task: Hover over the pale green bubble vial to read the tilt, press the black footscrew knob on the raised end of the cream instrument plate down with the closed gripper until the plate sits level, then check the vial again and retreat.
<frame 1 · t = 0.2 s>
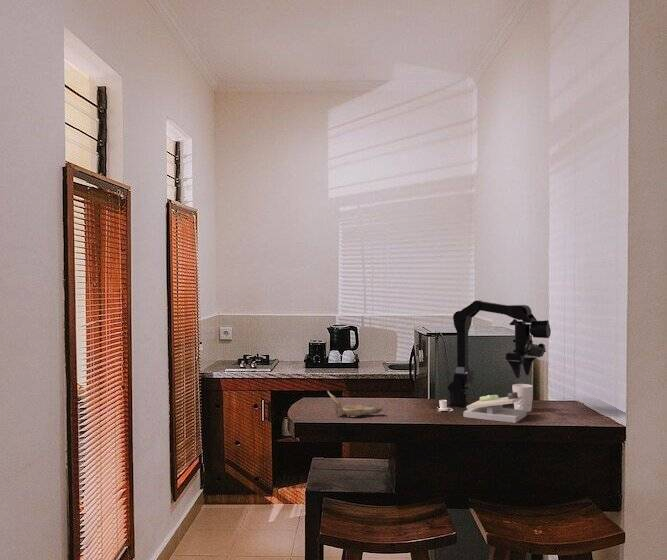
hand: (522, 376, 243), 14 cm above the table, fingers open, 9 cm apart
white cup: (522, 410, 247), on the table
instrument base: (495, 416, 237), on the table
teacup and saucer: (436, 411, 250), on the table
instrument plate: (494, 399, 237), point 7 cm above the table, hinge at -12.0°
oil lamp: (355, 416, 241), on the table
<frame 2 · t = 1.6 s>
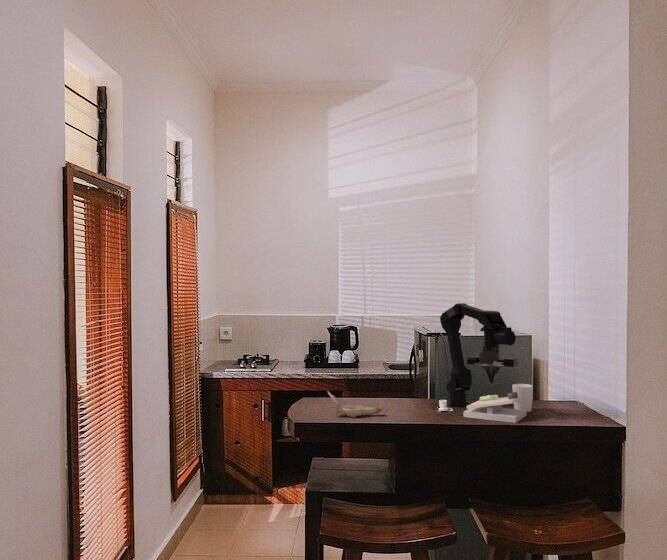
hand: (492, 383, 240), 12 cm above the table, fingers closed
nothing on the table moved.
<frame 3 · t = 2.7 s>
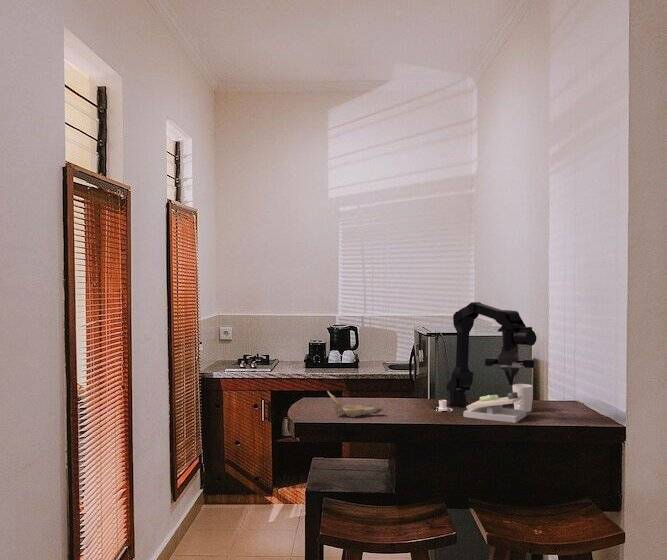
hand: (511, 385, 233), 12 cm above the table, fingers closed
nothing on the table moved.
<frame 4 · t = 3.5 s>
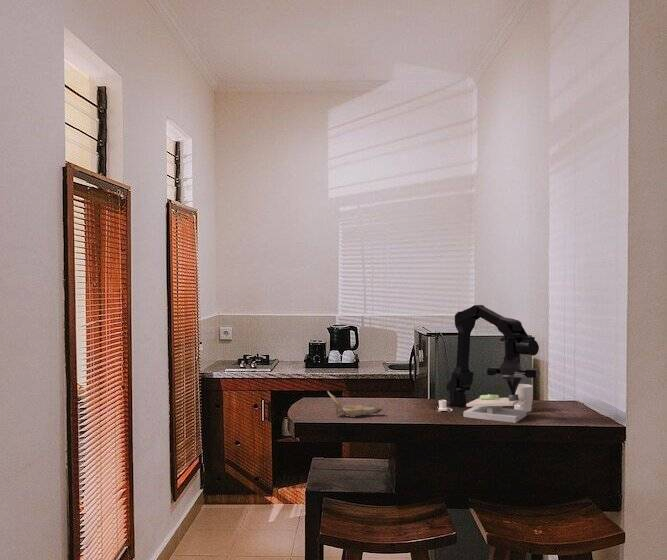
hand: (513, 394, 233), 9 cm above the table, fingers closed, pressing on instrument plate
instrument plate: (494, 399, 237), point 7 cm above the table, hinge at -6.5°, touching gripper
everything else where it was.
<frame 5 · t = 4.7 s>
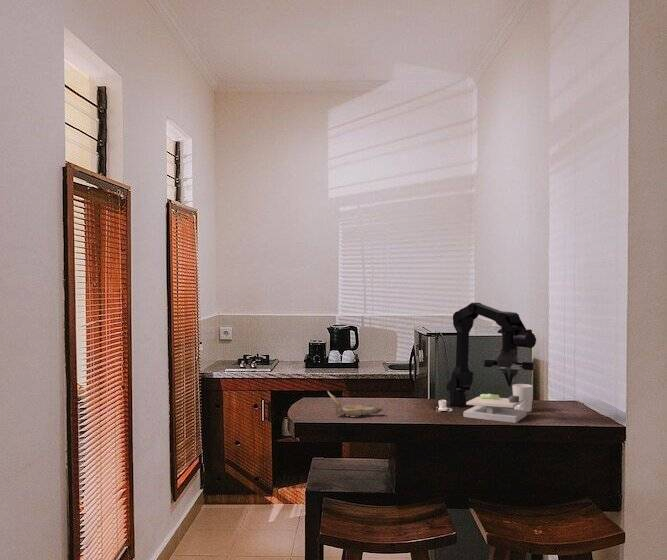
hand: (510, 386, 234), 12 cm above the table, fingers closed
instrument plate: (495, 399, 237), point 7 cm above the table, hinge at -1.9°
everything else where it was.
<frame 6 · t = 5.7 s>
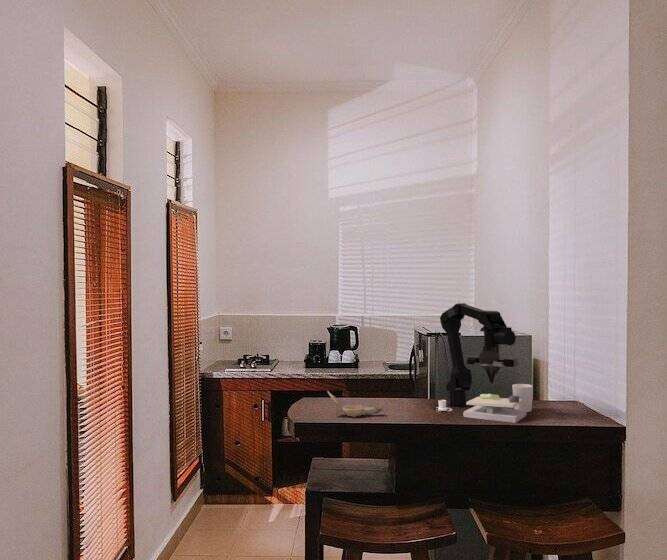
hand: (492, 383, 240), 12 cm above the table, fingers closed
nothing on the table moved.
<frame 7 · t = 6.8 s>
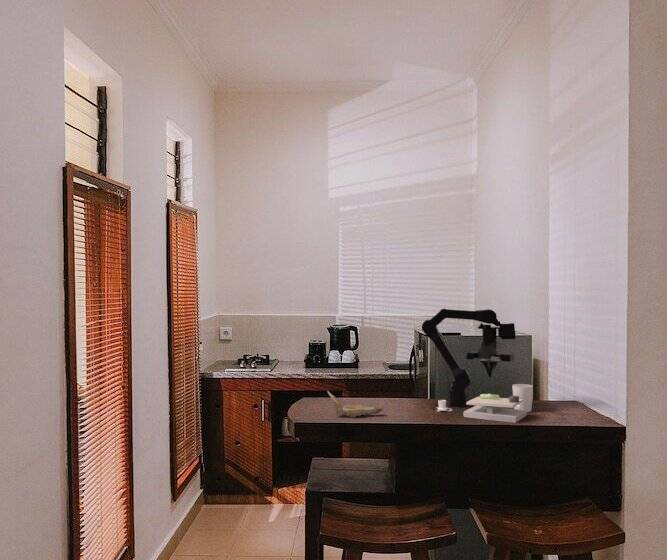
hand: (490, 377, 256), 12 cm above the table, fingers closed
nothing on the table moved.
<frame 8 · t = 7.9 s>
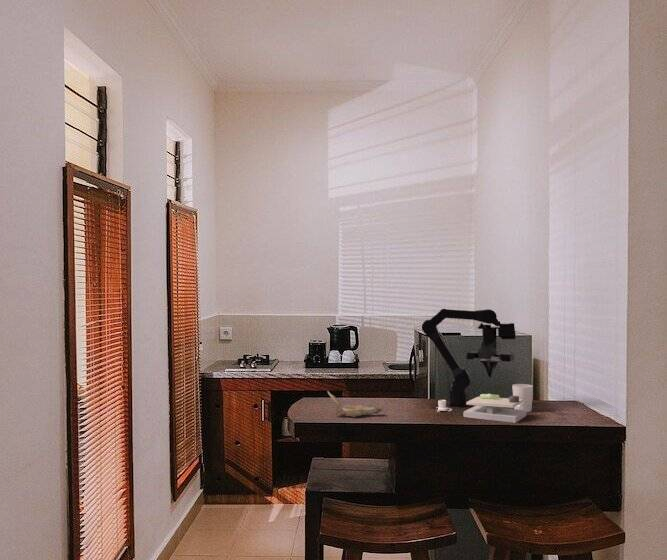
hand: (490, 377, 256), 12 cm above the table, fingers closed
nothing on the table moved.
at the end: instrument plate at -2° (first picture: -12°); white cup moved 0.2 cm from its start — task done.
